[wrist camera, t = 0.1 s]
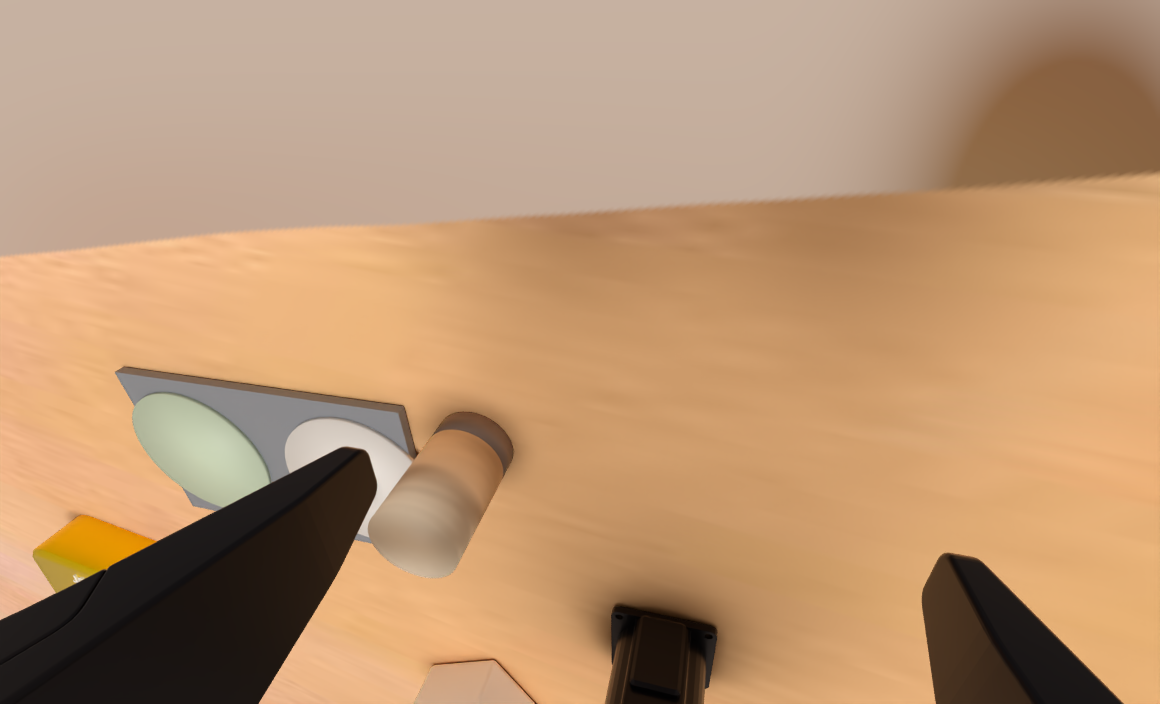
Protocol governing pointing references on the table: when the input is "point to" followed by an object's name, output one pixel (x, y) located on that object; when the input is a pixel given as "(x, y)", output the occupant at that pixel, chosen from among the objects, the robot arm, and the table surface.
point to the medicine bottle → (470, 685)
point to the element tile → (85, 550)
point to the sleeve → (442, 496)
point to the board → (257, 434)
